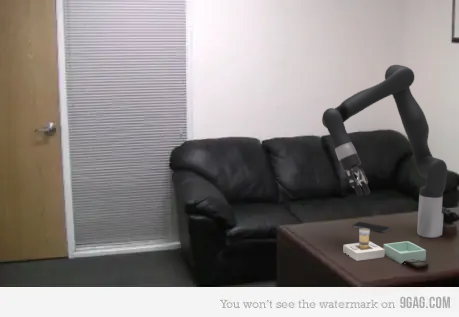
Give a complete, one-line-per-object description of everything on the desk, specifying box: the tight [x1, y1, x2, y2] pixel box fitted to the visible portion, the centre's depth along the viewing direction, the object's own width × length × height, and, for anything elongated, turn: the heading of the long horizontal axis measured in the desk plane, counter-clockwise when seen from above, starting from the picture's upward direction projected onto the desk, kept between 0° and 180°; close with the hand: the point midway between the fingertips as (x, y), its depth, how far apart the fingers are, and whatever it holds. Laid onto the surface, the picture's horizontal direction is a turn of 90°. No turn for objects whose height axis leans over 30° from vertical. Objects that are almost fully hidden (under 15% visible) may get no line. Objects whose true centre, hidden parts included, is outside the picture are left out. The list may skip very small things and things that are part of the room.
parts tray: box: [383, 240, 427, 265], centre depth 215 cm, size 11×11×4 cm
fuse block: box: [342, 241, 385, 262], centre depth 218 cm, size 12×10×3 cm
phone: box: [352, 221, 391, 234], centre depth 251 cm, size 8×1×15 cm
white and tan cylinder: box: [358, 228, 371, 250], centre depth 218 cm, size 4×4×10 cm
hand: (364, 194), depth 218 cm, fingers open, 8 cm apart
